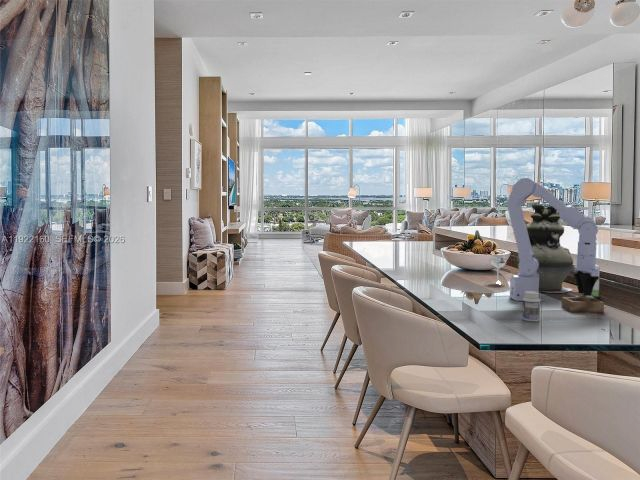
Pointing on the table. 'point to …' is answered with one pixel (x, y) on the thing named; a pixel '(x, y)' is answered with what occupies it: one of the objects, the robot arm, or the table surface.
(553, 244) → the decorative urn
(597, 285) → the ink box
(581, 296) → the lid
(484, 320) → the table surface
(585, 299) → the box
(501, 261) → the wineglass
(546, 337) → the table surface
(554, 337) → the table surface
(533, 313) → the pill bottle
